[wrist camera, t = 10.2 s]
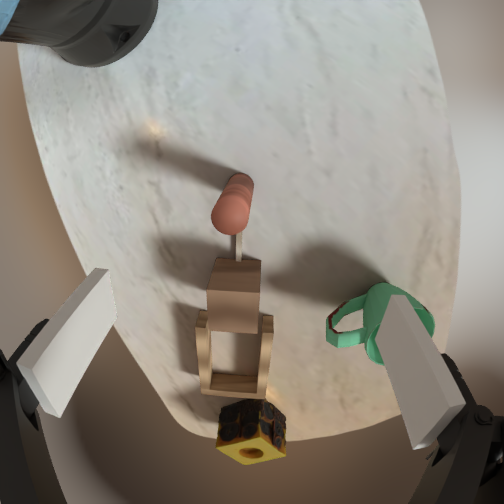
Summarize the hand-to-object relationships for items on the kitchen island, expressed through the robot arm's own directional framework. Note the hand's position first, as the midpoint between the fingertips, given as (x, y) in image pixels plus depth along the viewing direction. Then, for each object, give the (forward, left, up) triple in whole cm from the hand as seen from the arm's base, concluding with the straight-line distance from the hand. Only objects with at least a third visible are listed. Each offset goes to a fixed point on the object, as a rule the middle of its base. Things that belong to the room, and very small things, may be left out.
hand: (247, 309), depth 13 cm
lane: (+27, -2, -26) cm, 37 cm away
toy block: (+46, +2, -26) cm, 53 cm away
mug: (+16, +17, -26) cm, 35 cm away
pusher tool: (+8, -2, -26) cm, 27 cm away
